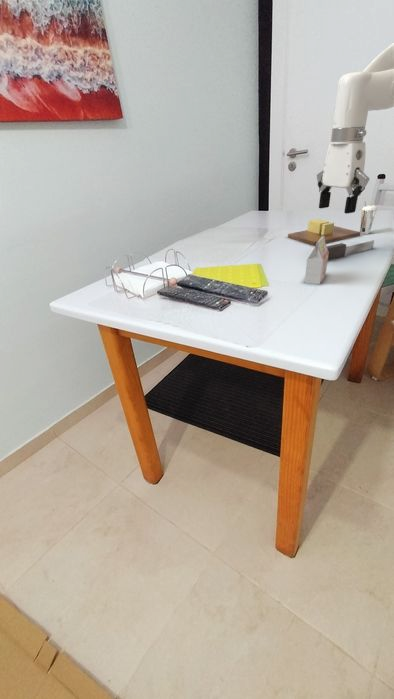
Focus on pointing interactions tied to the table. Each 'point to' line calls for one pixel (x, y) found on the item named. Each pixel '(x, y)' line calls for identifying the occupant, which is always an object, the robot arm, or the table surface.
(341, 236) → the board
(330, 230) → the butter slice
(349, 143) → the robot arm
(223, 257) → the table surface
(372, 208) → the milkshake
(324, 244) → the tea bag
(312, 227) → the butter block
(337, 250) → the knife
